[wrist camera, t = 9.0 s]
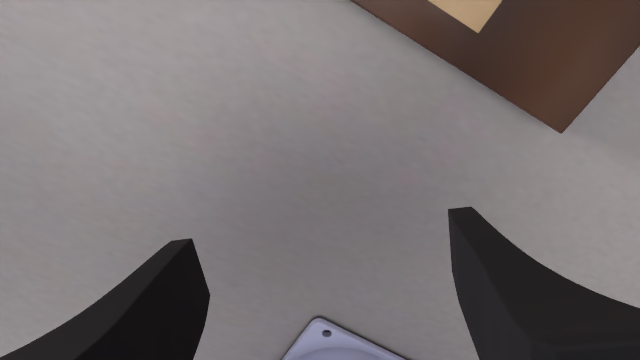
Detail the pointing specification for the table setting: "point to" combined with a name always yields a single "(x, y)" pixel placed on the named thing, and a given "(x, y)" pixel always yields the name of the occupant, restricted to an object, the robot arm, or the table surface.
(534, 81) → the cutting board
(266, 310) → the table surface
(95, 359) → the robot arm
